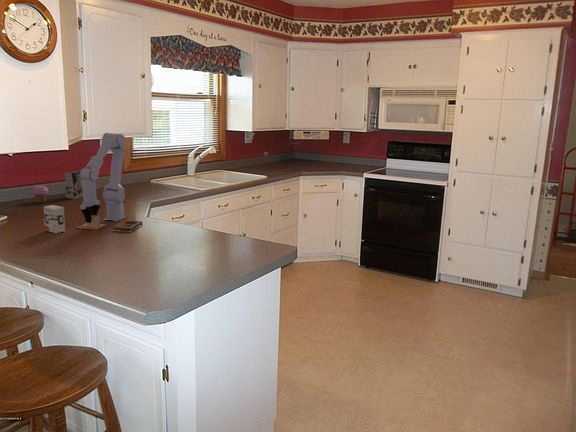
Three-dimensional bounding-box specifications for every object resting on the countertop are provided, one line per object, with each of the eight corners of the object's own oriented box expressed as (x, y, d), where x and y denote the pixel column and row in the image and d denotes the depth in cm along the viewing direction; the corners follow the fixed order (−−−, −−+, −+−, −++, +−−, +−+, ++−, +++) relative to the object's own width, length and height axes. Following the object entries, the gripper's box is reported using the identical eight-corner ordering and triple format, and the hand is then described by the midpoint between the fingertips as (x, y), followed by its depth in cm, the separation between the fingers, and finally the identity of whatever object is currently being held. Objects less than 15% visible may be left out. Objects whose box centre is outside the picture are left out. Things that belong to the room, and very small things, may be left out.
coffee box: (75, 198, 293) (73, 172, 290) (65, 198, 295) (64, 172, 291) (84, 196, 302) (82, 171, 299) (75, 195, 303) (73, 170, 300)
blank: (91, 225, 230) (91, 215, 229) (99, 225, 229) (99, 215, 228) (87, 226, 226) (87, 216, 225) (95, 227, 225) (95, 217, 224)
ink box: (44, 231, 217) (42, 206, 215) (54, 229, 221) (52, 204, 219) (56, 234, 213) (54, 208, 210) (66, 232, 217) (64, 207, 215)
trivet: (86, 224, 233) (86, 223, 233) (106, 225, 232) (106, 224, 232) (75, 229, 223) (75, 227, 223) (96, 230, 222) (96, 229, 222)
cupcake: (48, 203, 276) (47, 186, 274) (31, 204, 273) (30, 186, 271) (50, 200, 284) (48, 184, 282) (33, 201, 281) (32, 184, 279)
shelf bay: (126, 224, 237) (126, 220, 236) (142, 225, 236) (142, 221, 235) (113, 231, 223) (113, 227, 222) (129, 232, 222) (129, 228, 221)
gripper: (90, 196, 217) (91, 225, 220) (105, 191, 231) (106, 218, 234) (75, 195, 217) (76, 224, 220) (91, 190, 232) (92, 217, 234)
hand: (91, 221), depth 227 cm, fingers closed on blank, 4 cm apart
